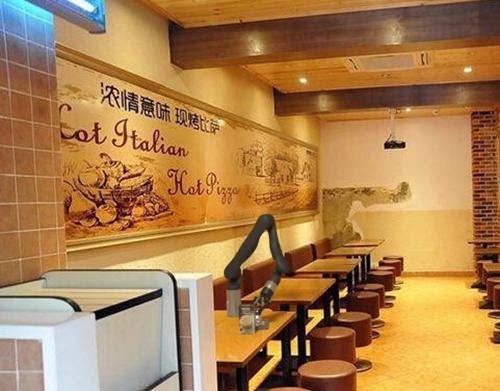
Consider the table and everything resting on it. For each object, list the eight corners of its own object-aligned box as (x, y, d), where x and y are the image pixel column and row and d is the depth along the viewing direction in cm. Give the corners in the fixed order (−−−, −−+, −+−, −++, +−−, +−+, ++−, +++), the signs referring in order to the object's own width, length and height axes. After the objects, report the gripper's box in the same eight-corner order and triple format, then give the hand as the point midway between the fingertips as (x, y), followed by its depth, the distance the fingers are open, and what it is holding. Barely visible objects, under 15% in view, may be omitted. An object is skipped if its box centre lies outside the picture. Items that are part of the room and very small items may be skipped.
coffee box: (238, 334, 331) (237, 306, 331) (240, 331, 337) (238, 304, 337) (254, 334, 330) (253, 305, 330) (255, 331, 336) (254, 303, 336)
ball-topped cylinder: (254, 323, 350) (253, 310, 350) (254, 322, 354) (253, 309, 354) (261, 323, 350) (261, 310, 350) (261, 321, 354) (261, 308, 354)
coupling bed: (245, 330, 340) (245, 324, 340) (248, 320, 364) (248, 315, 364) (267, 329, 340) (267, 323, 340) (269, 320, 363) (269, 315, 363)
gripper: (257, 285, 362) (244, 306, 354) (273, 287, 351) (259, 309, 344) (264, 292, 366) (250, 314, 358) (280, 294, 355) (266, 317, 347)
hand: (255, 312), depth 351 cm, fingers open, 6 cm apart
